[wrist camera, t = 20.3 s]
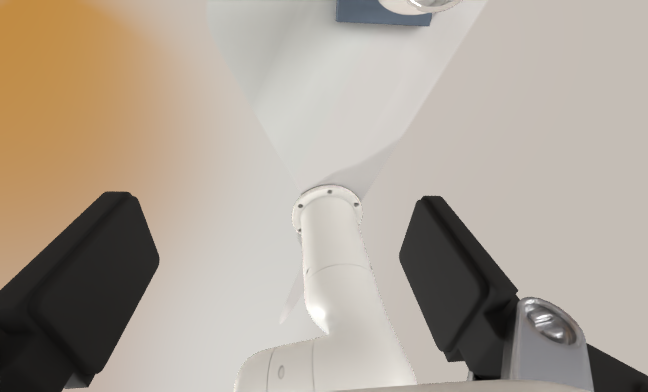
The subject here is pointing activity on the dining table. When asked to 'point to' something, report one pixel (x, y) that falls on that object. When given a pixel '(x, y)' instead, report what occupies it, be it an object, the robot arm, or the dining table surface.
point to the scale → (376, 15)
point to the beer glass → (411, 5)
